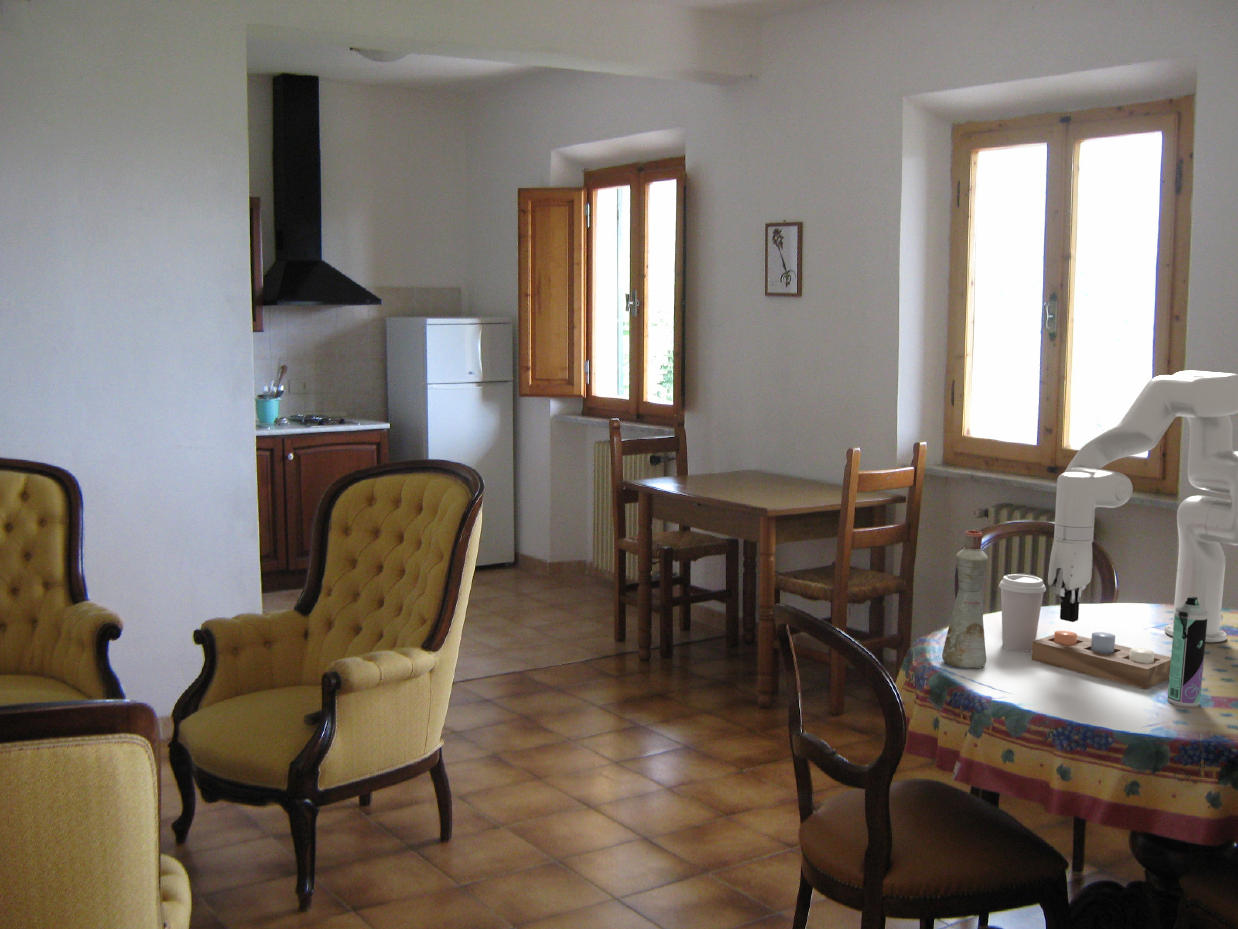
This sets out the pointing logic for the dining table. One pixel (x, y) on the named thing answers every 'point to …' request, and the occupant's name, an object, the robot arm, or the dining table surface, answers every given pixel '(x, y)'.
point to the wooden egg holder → (1102, 662)
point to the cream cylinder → (1141, 655)
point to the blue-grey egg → (1103, 642)
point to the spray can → (1187, 654)
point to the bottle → (968, 608)
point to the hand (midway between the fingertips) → (1068, 619)
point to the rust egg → (1065, 637)
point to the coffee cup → (1020, 610)
